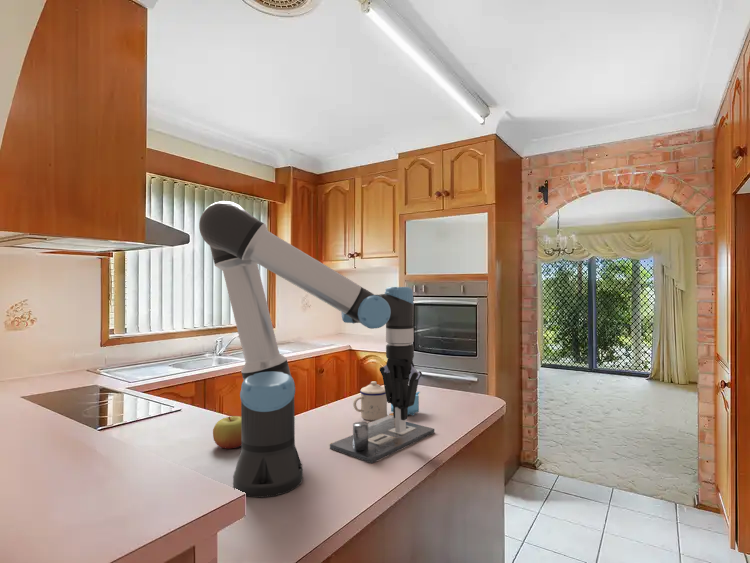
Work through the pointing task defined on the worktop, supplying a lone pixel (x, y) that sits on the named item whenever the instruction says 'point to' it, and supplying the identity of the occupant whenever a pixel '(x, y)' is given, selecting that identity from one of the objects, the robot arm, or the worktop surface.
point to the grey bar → (370, 430)
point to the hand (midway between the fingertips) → (400, 430)
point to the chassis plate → (383, 442)
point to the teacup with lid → (372, 402)
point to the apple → (228, 432)
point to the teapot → (412, 408)
